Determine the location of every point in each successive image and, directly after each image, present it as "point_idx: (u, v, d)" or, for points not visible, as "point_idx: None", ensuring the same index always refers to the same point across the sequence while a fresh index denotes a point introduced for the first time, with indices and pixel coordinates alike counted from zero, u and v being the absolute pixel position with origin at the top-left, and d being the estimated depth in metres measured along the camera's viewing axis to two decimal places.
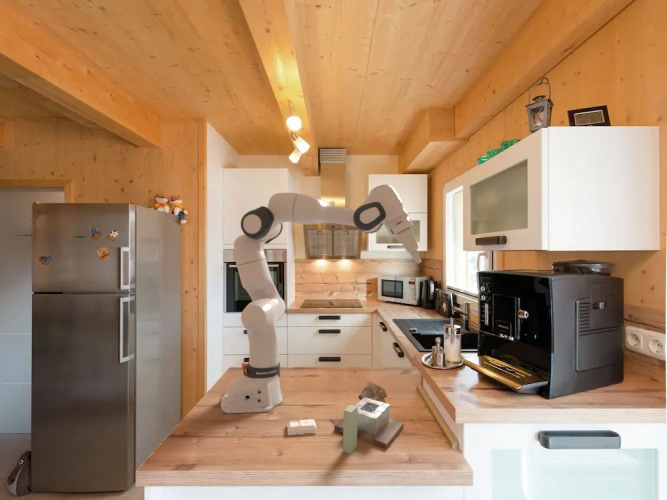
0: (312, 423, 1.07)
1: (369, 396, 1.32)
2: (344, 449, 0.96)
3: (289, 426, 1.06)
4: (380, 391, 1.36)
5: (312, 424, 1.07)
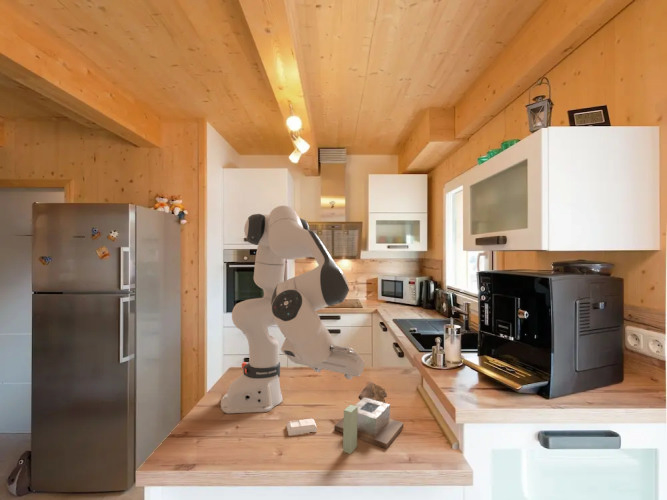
0: (312, 422, 1.08)
1: (369, 396, 1.32)
2: (344, 449, 0.96)
3: (289, 427, 1.05)
4: (380, 391, 1.36)
5: (312, 423, 1.07)
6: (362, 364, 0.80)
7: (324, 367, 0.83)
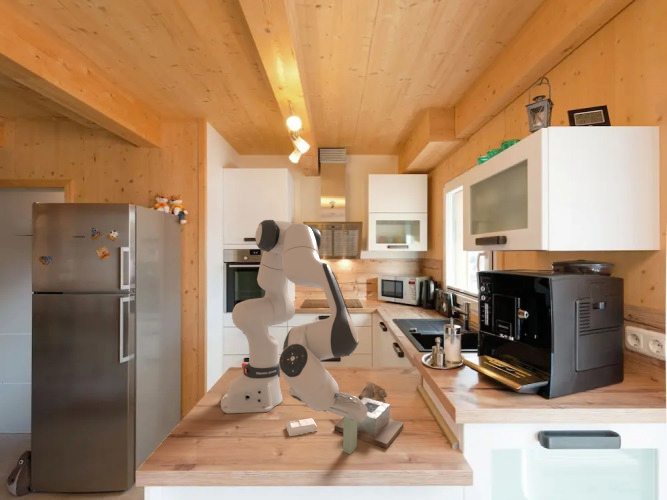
0: (312, 422, 1.08)
1: (369, 396, 1.32)
2: (344, 449, 0.96)
3: (290, 427, 1.05)
4: (380, 391, 1.36)
5: (312, 423, 1.07)
6: (365, 410, 0.83)
7: (329, 410, 0.87)
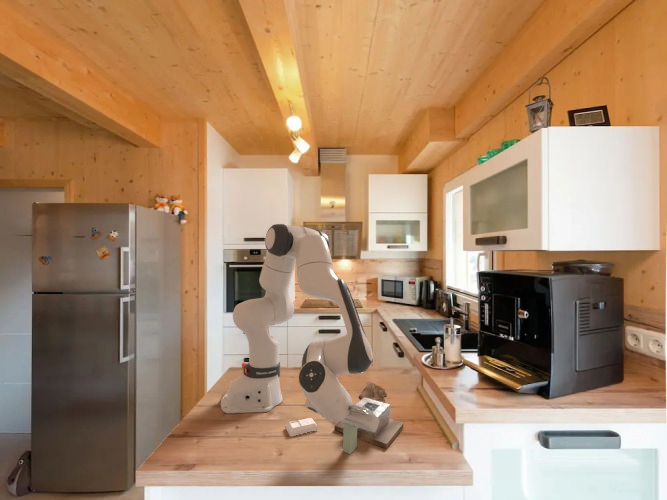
0: (312, 421, 1.08)
1: (369, 396, 1.32)
2: (344, 449, 0.96)
3: (290, 427, 1.05)
4: (380, 391, 1.36)
5: (313, 422, 1.08)
6: (377, 421, 0.89)
7: (343, 421, 0.93)
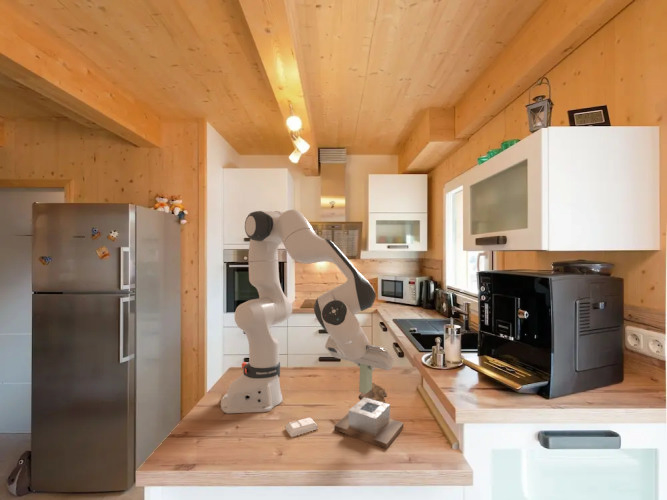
0: (312, 421, 1.08)
1: (369, 396, 1.32)
2: (360, 389, 1.05)
3: (291, 428, 1.05)
4: (380, 391, 1.36)
5: (312, 422, 1.08)
6: (392, 360, 0.98)
7: (360, 362, 1.01)
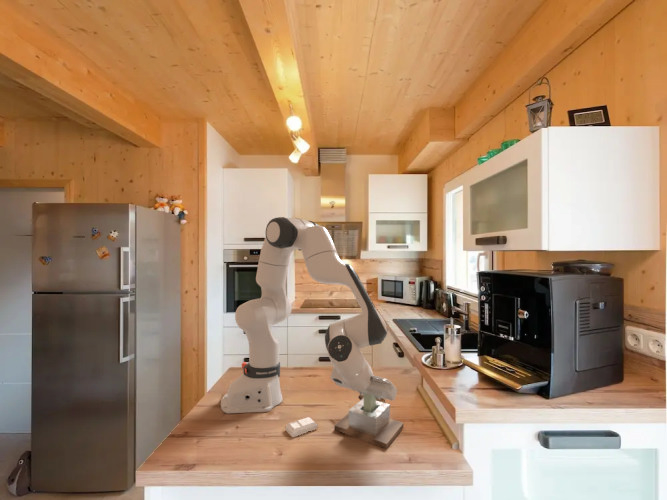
0: (312, 420, 1.09)
1: None
2: None
3: (292, 428, 1.04)
4: None
5: (312, 421, 1.08)
6: (395, 391, 1.00)
7: (364, 391, 1.04)
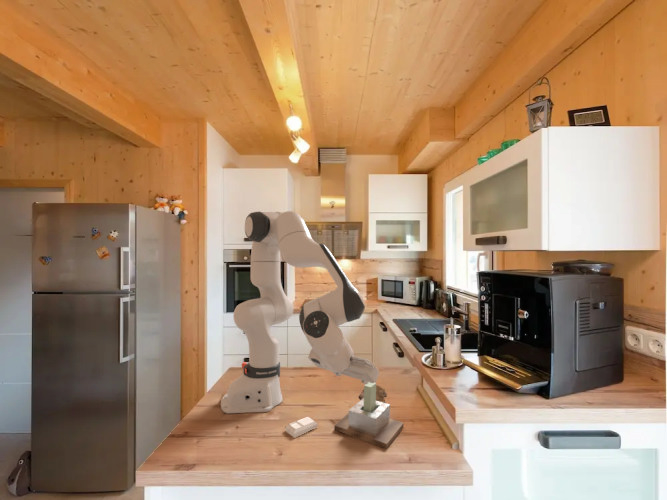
0: (311, 420, 1.09)
1: None
2: None
3: (293, 429, 1.04)
4: (380, 391, 1.36)
5: (312, 421, 1.09)
6: (377, 373, 0.94)
7: (344, 373, 0.97)
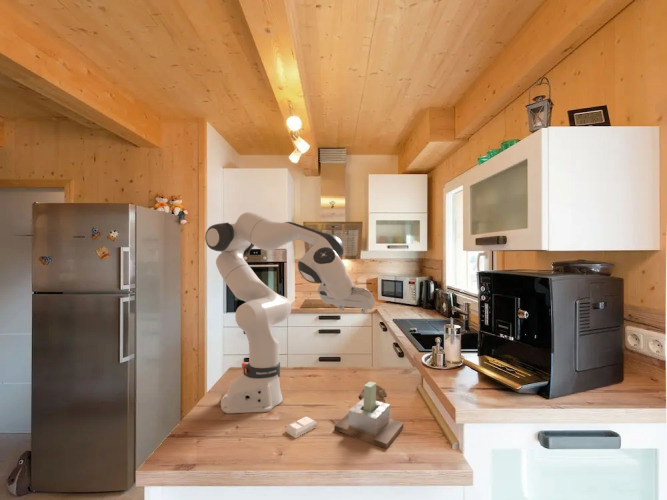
0: (311, 419, 1.09)
1: None
2: None
3: (294, 429, 1.04)
4: (380, 391, 1.36)
5: (312, 420, 1.09)
6: (373, 300, 1.15)
7: (347, 304, 1.19)
